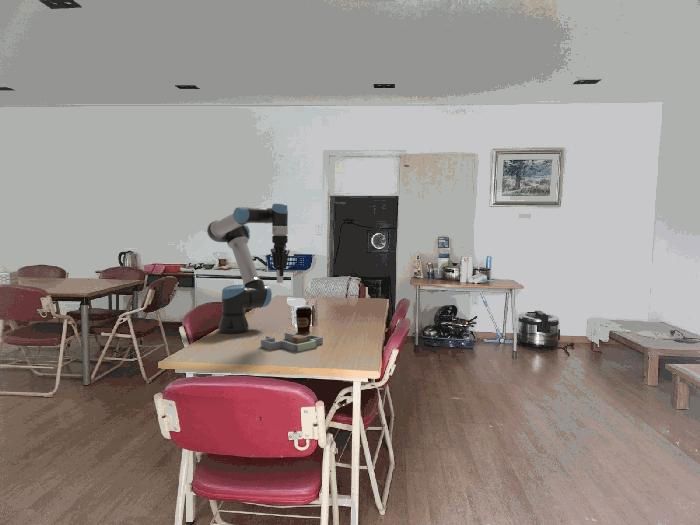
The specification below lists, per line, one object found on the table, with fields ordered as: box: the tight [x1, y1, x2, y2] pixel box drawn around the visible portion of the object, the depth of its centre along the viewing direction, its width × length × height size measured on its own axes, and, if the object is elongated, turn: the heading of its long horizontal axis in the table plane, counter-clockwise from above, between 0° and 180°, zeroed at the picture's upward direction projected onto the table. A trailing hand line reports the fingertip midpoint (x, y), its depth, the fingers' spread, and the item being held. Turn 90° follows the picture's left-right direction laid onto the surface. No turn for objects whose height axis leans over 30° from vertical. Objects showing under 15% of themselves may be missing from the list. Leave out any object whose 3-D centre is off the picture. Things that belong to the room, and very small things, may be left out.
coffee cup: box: [295, 306, 313, 335], centre depth 244 cm, size 9×8×13 cm
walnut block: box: [290, 334, 307, 344], centre depth 215 cm, size 5×5×5 cm
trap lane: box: [260, 331, 324, 353], centre depth 220 cm, size 23×24×3 cm
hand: (280, 282), depth 237 cm, fingers closed
